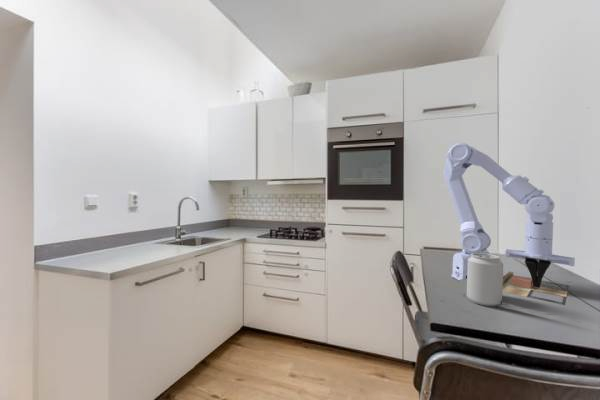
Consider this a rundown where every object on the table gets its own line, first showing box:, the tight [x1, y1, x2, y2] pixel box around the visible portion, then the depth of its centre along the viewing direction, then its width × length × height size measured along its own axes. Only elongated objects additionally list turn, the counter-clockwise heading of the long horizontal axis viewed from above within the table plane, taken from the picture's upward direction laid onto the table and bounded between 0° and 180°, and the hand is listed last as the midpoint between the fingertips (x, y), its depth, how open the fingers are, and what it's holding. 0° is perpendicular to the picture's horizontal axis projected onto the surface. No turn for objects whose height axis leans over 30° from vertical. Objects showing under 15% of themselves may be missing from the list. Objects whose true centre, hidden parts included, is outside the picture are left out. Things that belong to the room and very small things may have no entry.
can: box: [466, 253, 504, 307], centre depth 70 cm, size 8×8×12 cm
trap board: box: [502, 271, 570, 306], centre depth 78 cm, size 14×22×3 cm, turn 134°
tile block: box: [510, 274, 533, 289], centre depth 80 cm, size 4×4×2 cm
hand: (536, 286), depth 77 cm, fingers closed
